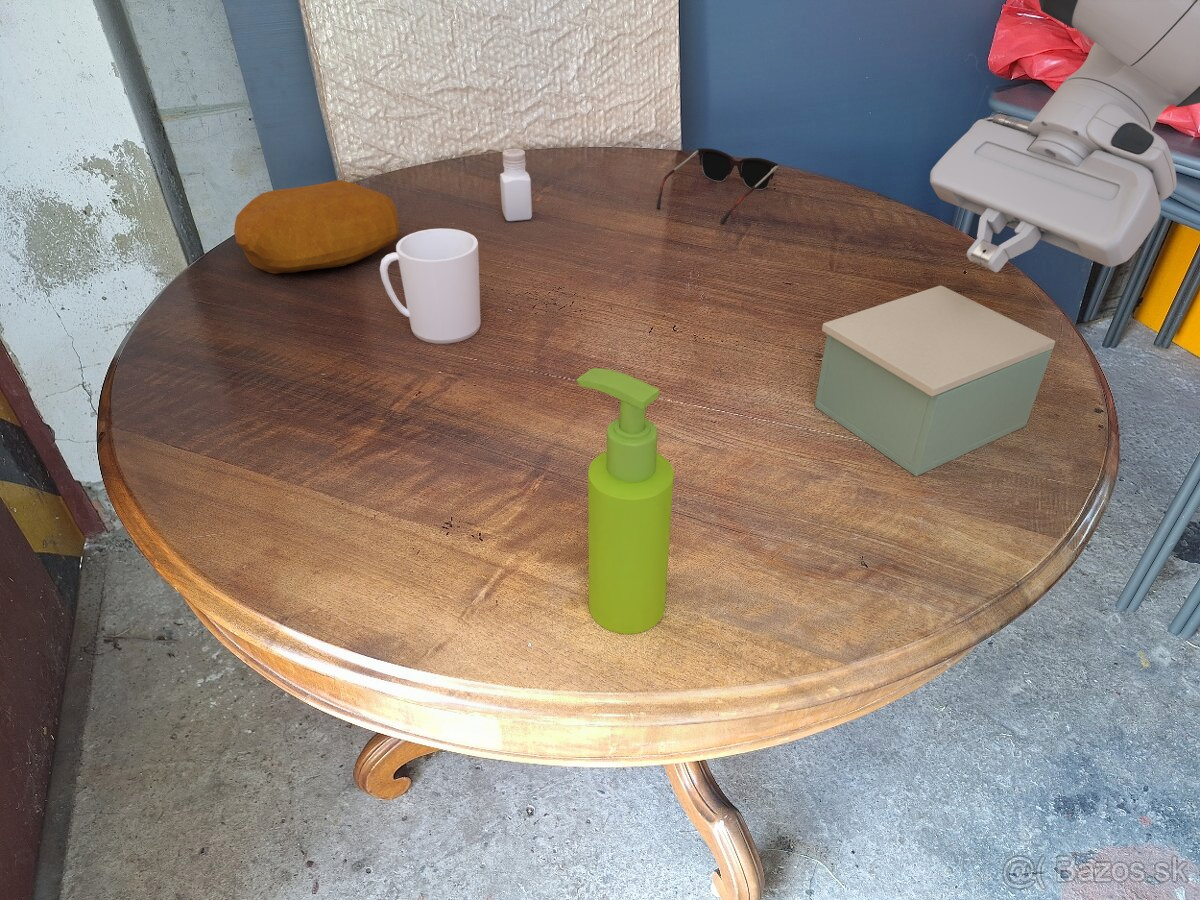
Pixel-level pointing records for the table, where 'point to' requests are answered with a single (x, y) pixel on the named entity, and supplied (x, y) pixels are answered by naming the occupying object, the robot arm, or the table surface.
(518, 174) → the salt shaker
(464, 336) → the mug
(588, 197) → the table surface
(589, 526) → the soap dispenser
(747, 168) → the sunglasses
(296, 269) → the bread
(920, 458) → the green open box
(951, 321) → the lid
